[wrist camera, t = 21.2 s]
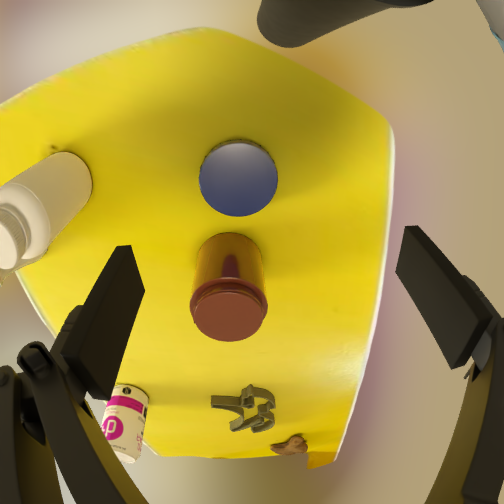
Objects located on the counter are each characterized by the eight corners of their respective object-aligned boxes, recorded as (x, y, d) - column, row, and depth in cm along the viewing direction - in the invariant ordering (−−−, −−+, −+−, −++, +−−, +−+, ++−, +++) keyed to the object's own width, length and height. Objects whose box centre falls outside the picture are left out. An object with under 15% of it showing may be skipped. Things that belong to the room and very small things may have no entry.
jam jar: (260, 230, 37) (268, 284, 28) (262, 283, 41) (269, 342, 32) (193, 235, 37) (180, 290, 28) (202, 287, 41) (195, 347, 32)
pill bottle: (78, 222, 35) (18, 296, 22) (34, 188, 32) (-38, 247, 19) (105, 174, 32) (38, 238, 19) (57, 137, 29) (-26, 182, 16)
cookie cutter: (205, 391, 54) (205, 399, 52) (267, 381, 53) (268, 390, 51) (233, 428, 63) (233, 435, 62) (283, 420, 62) (284, 427, 61)
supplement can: (104, 383, 53) (87, 446, 40) (137, 381, 52) (123, 449, 40) (124, 404, 57) (112, 462, 45) (156, 402, 56) (147, 465, 44)
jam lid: (207, 133, 30) (205, 136, 29) (283, 147, 32) (286, 151, 30) (195, 203, 34) (193, 210, 33) (266, 215, 36) (268, 222, 34)
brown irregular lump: (302, 432, 67) (304, 444, 64) (308, 444, 72) (310, 455, 69) (265, 439, 68) (266, 451, 65) (273, 450, 73) (274, 461, 70)
